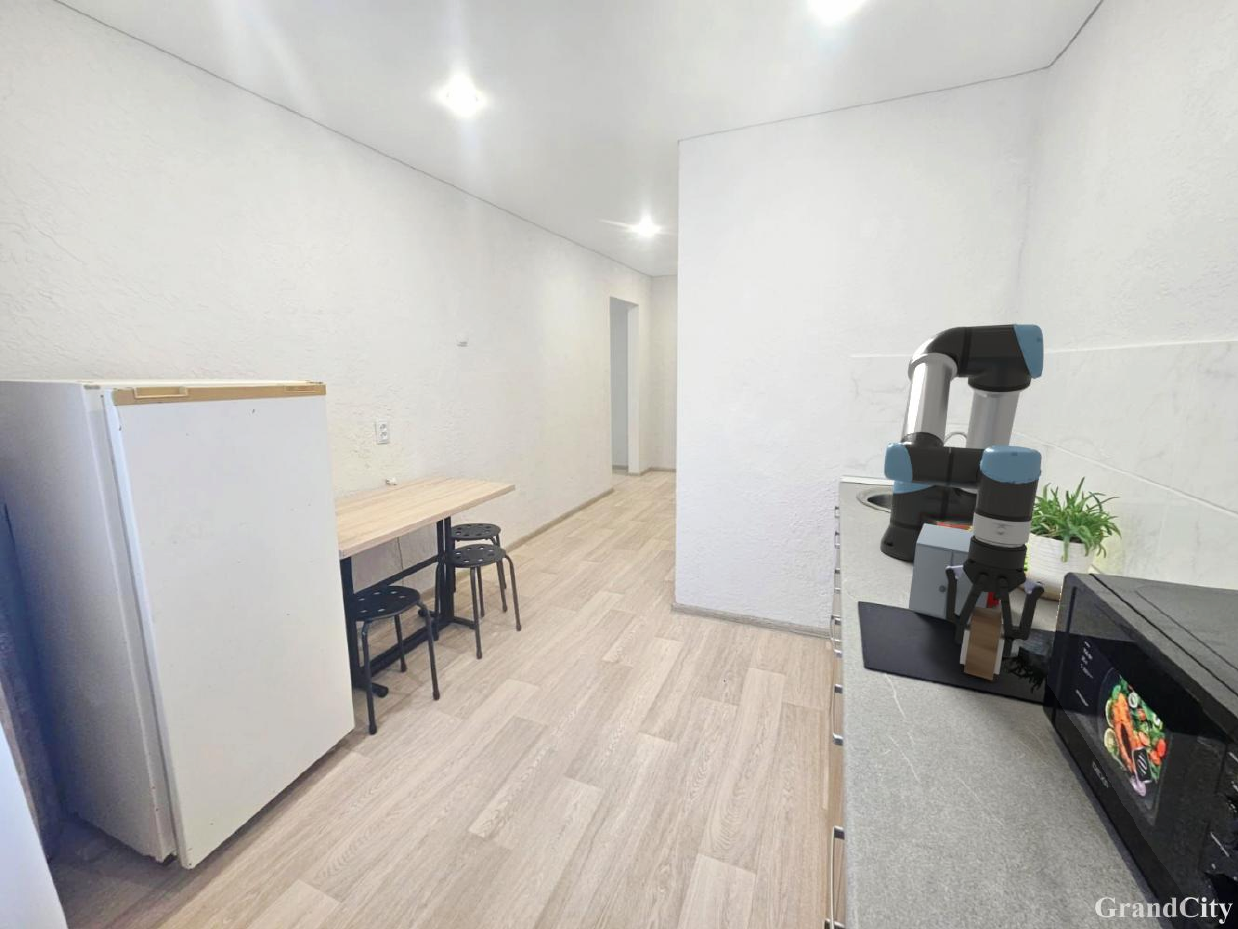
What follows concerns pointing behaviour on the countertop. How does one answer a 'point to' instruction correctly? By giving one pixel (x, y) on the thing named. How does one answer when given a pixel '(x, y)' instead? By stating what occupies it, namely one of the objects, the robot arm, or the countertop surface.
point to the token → (1014, 649)
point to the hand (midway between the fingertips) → (979, 664)
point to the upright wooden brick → (983, 642)
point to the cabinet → (940, 570)
